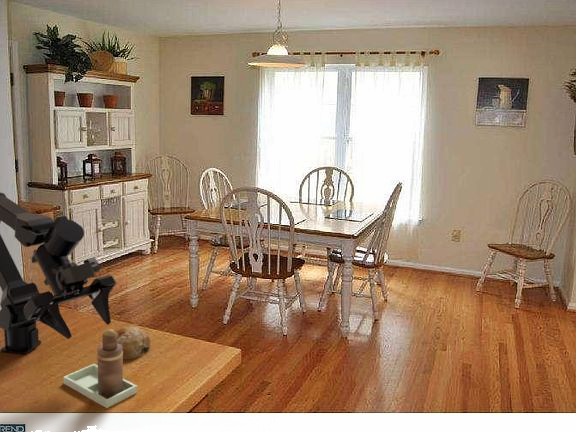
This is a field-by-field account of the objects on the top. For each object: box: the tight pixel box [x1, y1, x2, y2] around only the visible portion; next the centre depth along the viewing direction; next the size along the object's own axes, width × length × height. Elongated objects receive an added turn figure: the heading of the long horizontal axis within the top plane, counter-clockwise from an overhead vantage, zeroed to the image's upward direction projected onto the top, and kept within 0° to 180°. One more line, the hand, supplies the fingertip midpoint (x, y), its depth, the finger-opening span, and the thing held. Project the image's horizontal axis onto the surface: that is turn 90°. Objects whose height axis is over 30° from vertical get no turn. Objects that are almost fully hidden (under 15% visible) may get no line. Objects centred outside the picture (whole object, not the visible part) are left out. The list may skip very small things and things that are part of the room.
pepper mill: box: [96, 328, 124, 399], centre depth 106 cm, size 5×5×14 cm
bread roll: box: [114, 326, 151, 360], centre depth 126 cm, size 10×10×8 cm
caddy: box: [63, 363, 138, 409], centre depth 109 cm, size 14×7×2 cm, turn 55°
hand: (90, 330), depth 108 cm, fingers open, 9 cm apart
